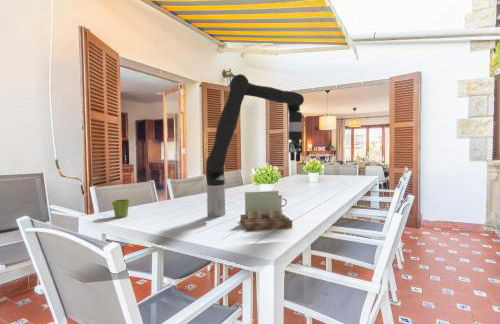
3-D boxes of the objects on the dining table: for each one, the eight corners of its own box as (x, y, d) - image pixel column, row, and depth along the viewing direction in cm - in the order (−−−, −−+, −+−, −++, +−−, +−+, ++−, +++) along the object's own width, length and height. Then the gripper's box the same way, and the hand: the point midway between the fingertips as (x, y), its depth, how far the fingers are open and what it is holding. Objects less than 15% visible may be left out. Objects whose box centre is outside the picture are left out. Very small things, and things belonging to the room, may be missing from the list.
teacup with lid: (264, 211, 169) (264, 191, 168) (268, 208, 177) (268, 188, 177) (285, 212, 165) (285, 191, 164) (288, 209, 174) (288, 189, 173)
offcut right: (270, 224, 136) (270, 211, 135) (269, 223, 137) (269, 210, 137) (282, 223, 137) (282, 210, 136) (281, 222, 138) (281, 209, 138)
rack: (247, 234, 125) (247, 223, 125) (240, 223, 143) (240, 214, 143) (292, 231, 129) (292, 220, 129) (280, 221, 147) (280, 212, 146)
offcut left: (248, 225, 134) (248, 212, 133) (248, 224, 135) (248, 211, 135) (260, 224, 135) (260, 211, 134) (260, 223, 136) (259, 210, 136)
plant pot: (107, 217, 159) (107, 201, 158) (121, 214, 168) (120, 198, 167) (121, 219, 155) (120, 202, 155) (134, 215, 164) (133, 199, 164)
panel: (245, 222, 140) (245, 192, 139) (245, 221, 141) (244, 192, 140) (278, 220, 143) (278, 190, 142) (278, 219, 144) (277, 190, 143)
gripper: (284, 131, 168) (284, 160, 169) (293, 130, 154) (293, 161, 155) (297, 131, 170) (297, 160, 170) (307, 130, 156) (306, 161, 156)
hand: (295, 160), depth 163 cm, fingers open, 8 cm apart
